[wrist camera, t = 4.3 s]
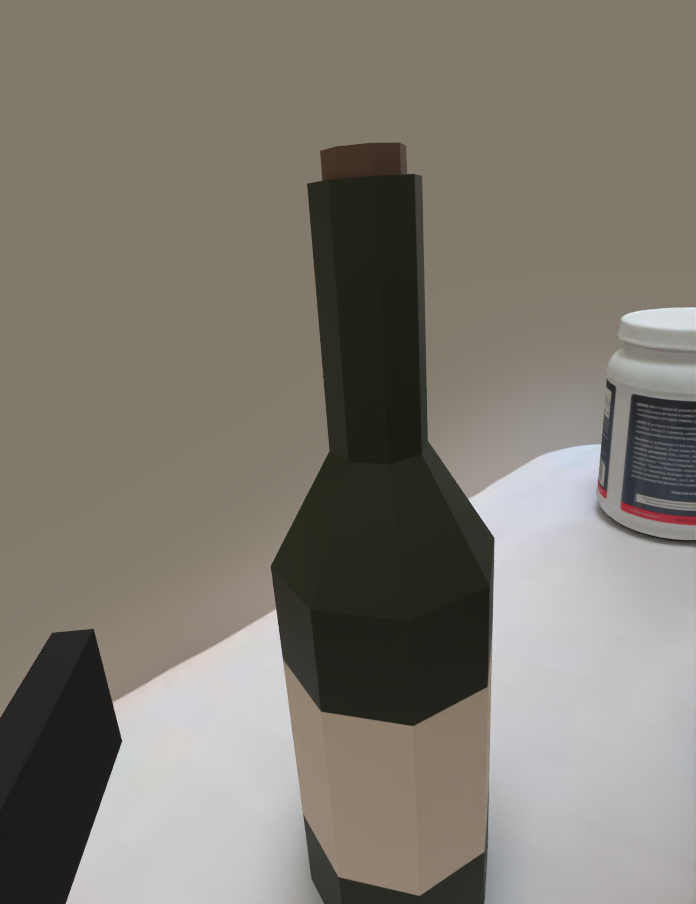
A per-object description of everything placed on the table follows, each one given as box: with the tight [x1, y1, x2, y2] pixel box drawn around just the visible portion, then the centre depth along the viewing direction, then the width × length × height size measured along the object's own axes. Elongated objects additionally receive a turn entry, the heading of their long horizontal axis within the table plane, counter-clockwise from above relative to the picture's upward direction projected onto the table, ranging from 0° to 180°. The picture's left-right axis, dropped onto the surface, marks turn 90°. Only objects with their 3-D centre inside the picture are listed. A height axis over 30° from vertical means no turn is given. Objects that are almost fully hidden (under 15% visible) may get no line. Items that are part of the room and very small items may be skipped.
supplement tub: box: [597, 308, 696, 540], centre depth 54 cm, size 13×13×18 cm
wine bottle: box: [271, 143, 494, 904], centre depth 23 cm, size 8×8×30 cm
